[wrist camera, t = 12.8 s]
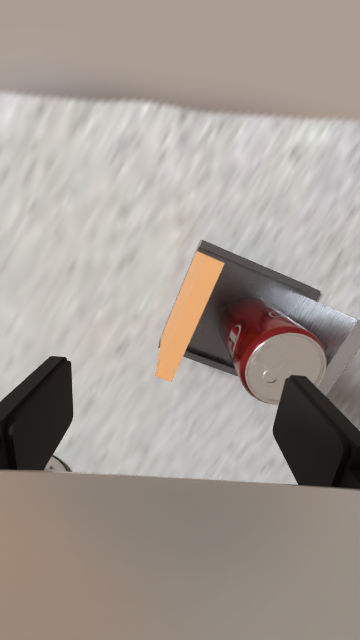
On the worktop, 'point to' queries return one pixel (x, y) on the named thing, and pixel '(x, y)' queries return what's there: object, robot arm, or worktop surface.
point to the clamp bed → (283, 294)
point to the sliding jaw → (187, 313)
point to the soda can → (269, 348)
